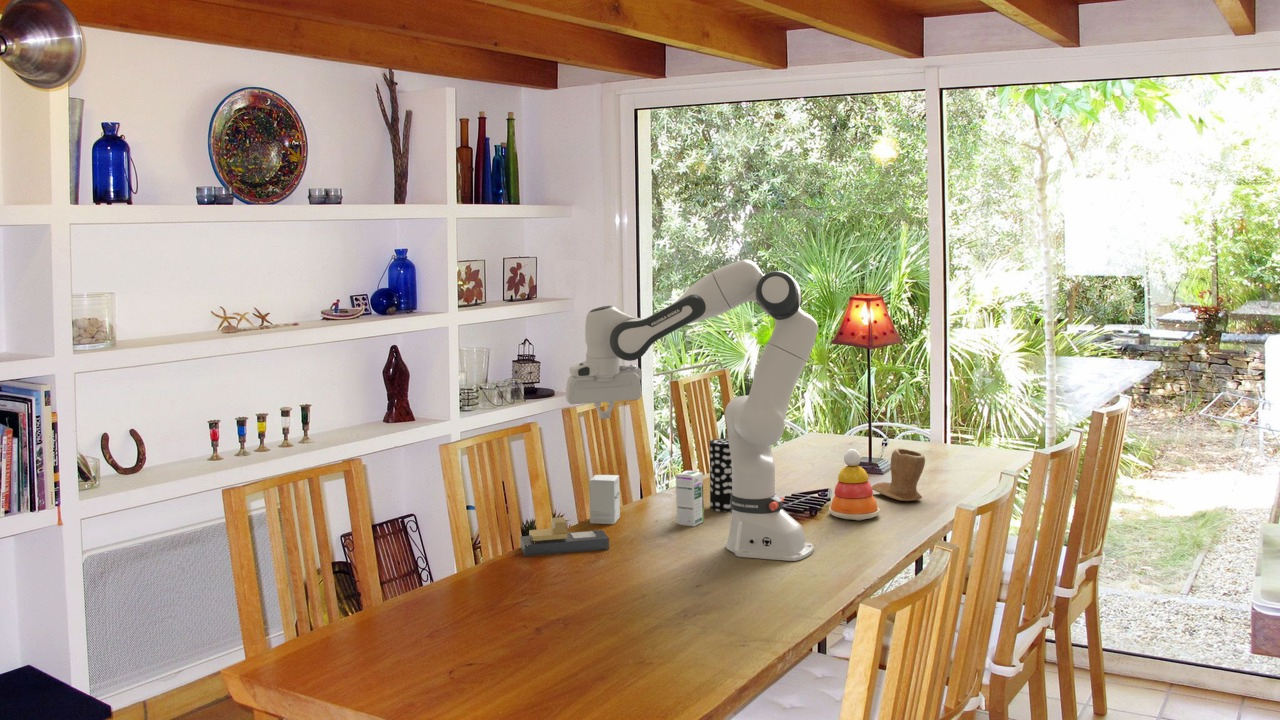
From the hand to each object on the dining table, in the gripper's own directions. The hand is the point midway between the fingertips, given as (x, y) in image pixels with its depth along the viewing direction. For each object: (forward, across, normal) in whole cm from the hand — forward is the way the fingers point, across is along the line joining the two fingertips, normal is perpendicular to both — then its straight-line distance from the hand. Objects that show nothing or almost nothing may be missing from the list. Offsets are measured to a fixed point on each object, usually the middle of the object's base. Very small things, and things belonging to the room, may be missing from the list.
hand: (604, 418), depth 295 cm
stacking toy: (+34, -72, +1) cm, 79 cm away
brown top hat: (+34, -94, -13) cm, 101 cm away
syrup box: (+33, -25, -5) cm, 41 cm away
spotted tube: (+33, -39, -18) cm, 54 cm away
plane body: (+32, +14, +8) cm, 36 cm away
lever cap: (+28, +18, +8) cm, 35 cm away
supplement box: (+33, -2, -15) cm, 36 cm away
